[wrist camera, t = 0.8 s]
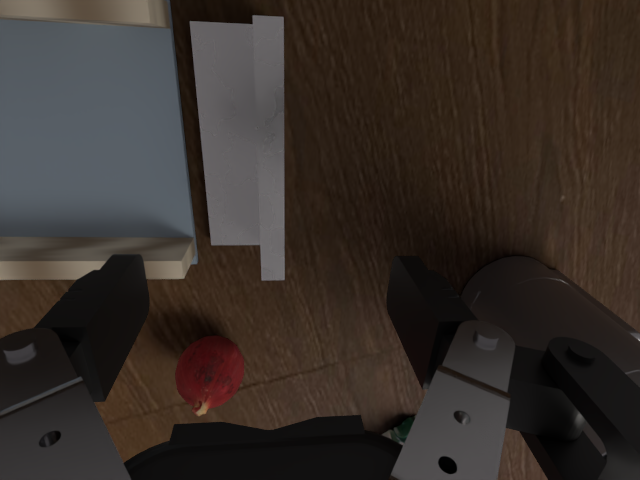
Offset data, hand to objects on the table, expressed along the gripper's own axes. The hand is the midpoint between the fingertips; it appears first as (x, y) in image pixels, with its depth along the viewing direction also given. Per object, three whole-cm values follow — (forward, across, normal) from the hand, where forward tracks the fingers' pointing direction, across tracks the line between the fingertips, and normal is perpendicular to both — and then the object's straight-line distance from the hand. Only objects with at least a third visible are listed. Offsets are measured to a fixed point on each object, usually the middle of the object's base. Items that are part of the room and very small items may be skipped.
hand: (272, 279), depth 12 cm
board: (+19, +17, 0) cm, 25 cm away
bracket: (+19, +2, 0) cm, 19 cm away
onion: (+19, +5, +19) cm, 27 cm away
